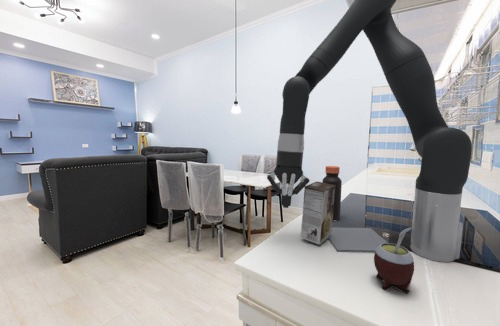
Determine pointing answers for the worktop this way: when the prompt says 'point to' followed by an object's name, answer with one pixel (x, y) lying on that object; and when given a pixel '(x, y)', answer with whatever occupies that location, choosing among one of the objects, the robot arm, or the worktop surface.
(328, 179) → the bottle
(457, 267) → the worktop surface
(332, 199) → the coffee box
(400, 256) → the mate gourd
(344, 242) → the mat
